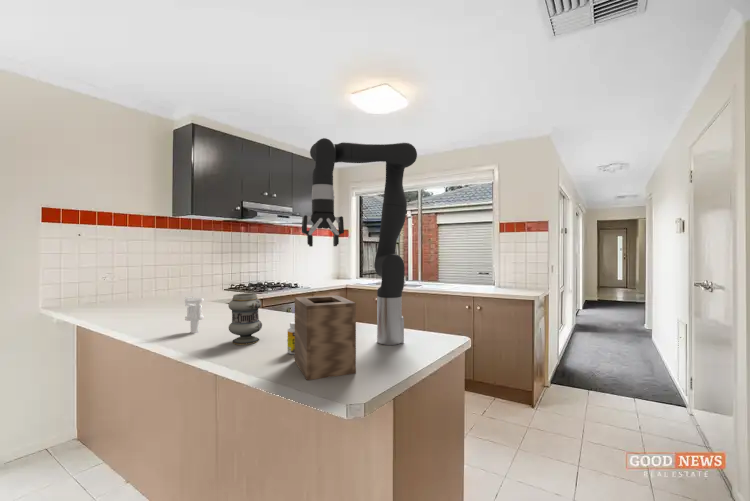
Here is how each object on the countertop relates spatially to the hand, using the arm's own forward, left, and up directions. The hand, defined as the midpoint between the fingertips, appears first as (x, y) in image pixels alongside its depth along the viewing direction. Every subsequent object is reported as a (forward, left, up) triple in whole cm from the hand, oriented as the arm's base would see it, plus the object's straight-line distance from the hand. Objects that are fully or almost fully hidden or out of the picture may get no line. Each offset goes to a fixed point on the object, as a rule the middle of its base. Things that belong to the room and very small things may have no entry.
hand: (323, 246), depth 125 cm
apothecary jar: (+24, -24, -36) cm, 50 cm away
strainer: (+43, -48, -36) cm, 74 cm away
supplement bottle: (+9, -2, -36) cm, 37 cm away
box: (+4, +16, -36) cm, 40 cm away
